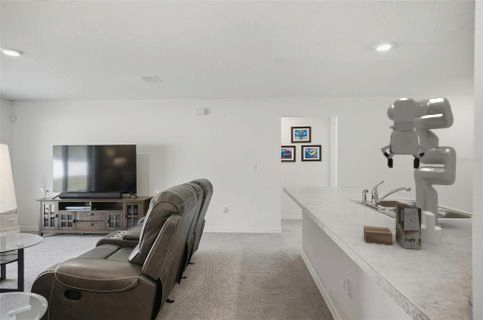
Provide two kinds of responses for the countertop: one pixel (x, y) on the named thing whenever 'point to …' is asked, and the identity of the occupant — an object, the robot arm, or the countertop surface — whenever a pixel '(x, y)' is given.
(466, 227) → the countertop surface
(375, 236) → the walnut block
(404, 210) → the coffee box
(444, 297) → the countertop surface
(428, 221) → the base with upright slab
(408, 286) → the countertop surface
